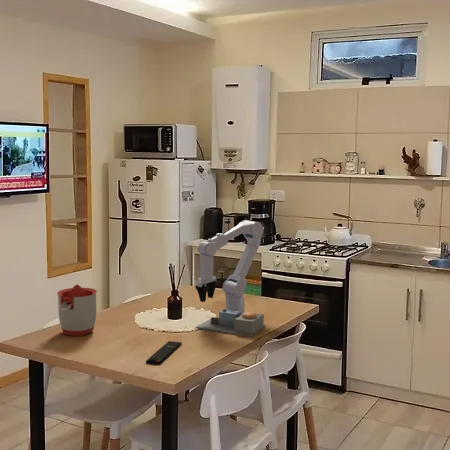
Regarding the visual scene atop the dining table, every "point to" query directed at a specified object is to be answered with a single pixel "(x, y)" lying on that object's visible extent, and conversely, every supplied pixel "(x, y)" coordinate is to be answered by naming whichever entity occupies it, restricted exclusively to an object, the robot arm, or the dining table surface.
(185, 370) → the dining table surface
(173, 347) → the remote control
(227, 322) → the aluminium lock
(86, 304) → the citrus juicer
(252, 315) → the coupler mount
